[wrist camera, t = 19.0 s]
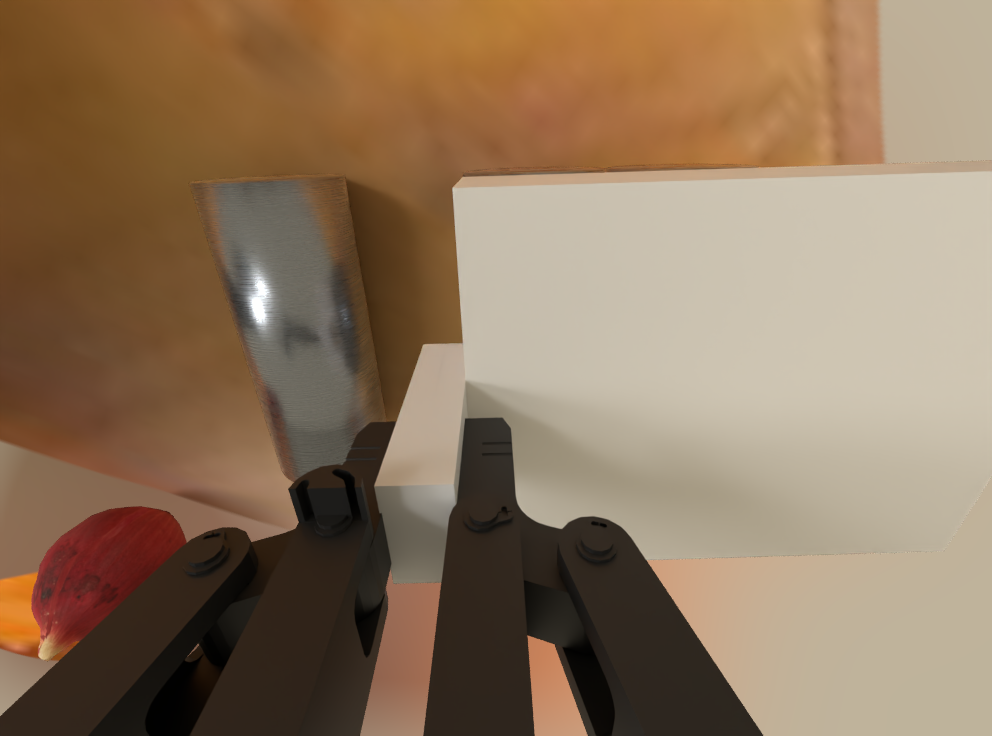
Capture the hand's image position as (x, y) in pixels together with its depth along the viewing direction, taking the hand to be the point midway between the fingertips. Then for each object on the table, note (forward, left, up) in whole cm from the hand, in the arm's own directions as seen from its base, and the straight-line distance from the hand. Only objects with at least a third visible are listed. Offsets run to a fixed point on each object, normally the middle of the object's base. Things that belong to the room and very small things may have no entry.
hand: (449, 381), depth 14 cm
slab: (+9, 0, -2) cm, 9 cm away
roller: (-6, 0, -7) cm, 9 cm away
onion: (-18, -12, -7) cm, 23 cm away
